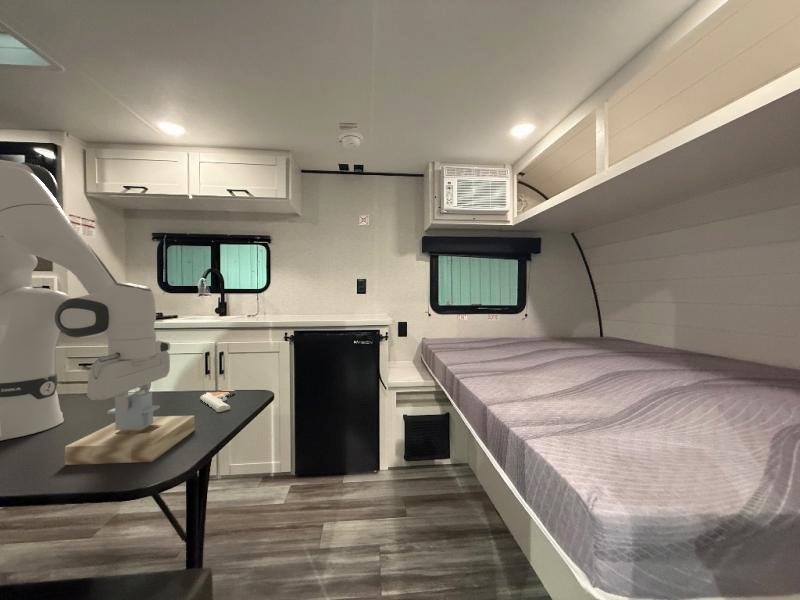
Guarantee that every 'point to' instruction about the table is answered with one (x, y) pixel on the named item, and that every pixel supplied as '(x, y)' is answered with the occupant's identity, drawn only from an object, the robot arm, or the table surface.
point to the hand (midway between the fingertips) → (133, 405)
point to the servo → (135, 412)
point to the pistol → (216, 400)
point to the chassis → (130, 442)
